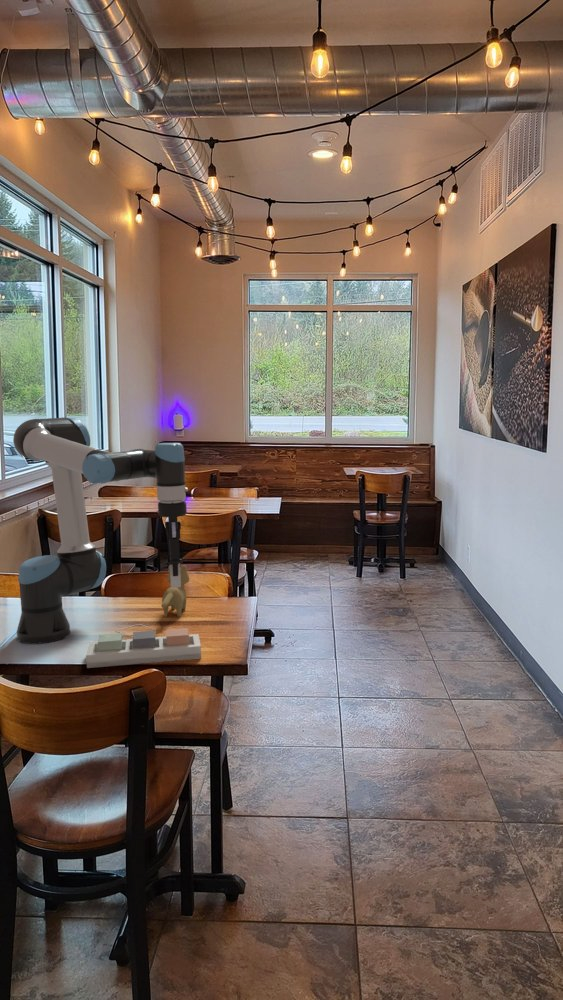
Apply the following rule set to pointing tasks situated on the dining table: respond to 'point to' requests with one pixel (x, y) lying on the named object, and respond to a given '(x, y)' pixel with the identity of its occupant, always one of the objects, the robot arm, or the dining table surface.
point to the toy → (176, 594)
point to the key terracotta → (177, 636)
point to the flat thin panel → (130, 626)
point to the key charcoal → (144, 639)
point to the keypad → (143, 653)
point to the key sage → (110, 641)
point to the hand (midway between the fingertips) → (175, 586)
